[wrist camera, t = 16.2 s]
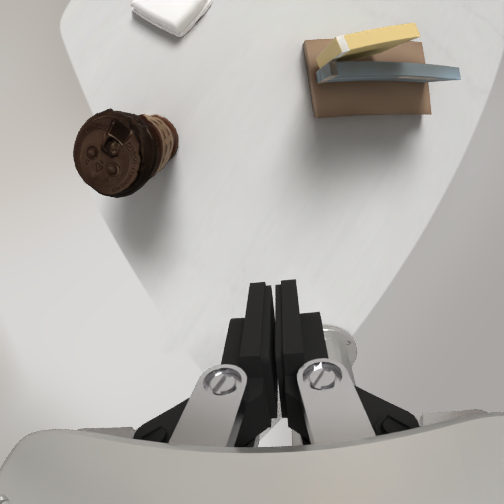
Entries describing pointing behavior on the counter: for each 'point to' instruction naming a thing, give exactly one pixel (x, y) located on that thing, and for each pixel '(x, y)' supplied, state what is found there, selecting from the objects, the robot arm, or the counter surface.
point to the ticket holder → (373, 81)
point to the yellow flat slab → (366, 43)
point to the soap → (171, 13)
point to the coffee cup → (123, 150)
